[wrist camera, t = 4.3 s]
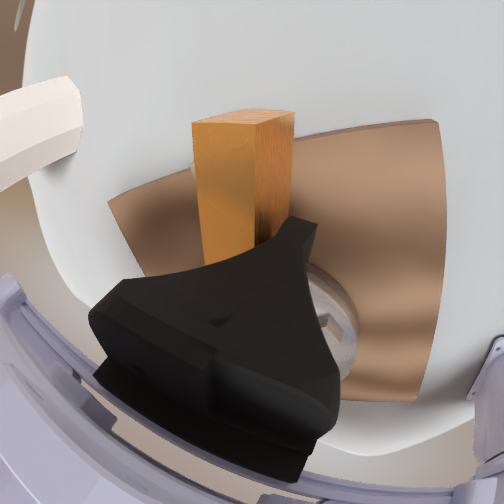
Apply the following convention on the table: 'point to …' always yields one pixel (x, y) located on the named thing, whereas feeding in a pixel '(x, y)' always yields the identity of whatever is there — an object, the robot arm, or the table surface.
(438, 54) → the table surface
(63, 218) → the table surface
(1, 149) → the mug
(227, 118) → the silver orange handled piece
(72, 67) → the table surface
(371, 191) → the base plate
